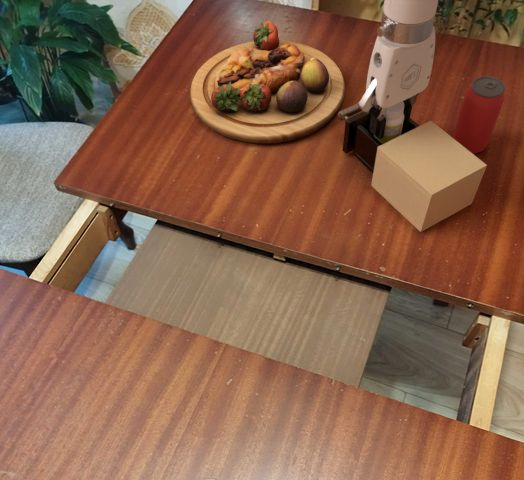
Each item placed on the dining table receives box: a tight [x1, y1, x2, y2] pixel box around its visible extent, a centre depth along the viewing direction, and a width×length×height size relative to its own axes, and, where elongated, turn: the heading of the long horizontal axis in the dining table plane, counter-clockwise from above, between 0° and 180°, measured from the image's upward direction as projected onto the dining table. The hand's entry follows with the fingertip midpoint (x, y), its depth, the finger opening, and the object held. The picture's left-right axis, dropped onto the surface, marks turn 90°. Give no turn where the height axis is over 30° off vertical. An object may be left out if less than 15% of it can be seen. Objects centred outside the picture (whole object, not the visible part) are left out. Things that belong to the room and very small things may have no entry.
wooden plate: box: [189, 20, 346, 144], centre depth 109 cm, size 32×32×8 cm
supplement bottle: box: [374, 101, 404, 144], centre depth 95 cm, size 5×5×8 cm
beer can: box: [451, 75, 506, 155], centre depth 97 cm, size 7×7×12 cm
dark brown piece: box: [337, 102, 421, 174], centre depth 99 cm, size 17×10×7 cm, turn 32°
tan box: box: [370, 120, 487, 233], centre depth 93 cm, size 14×12×9 cm
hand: (388, 127), depth 95 cm, fingers closed on supplement bottle, 4 cm apart
